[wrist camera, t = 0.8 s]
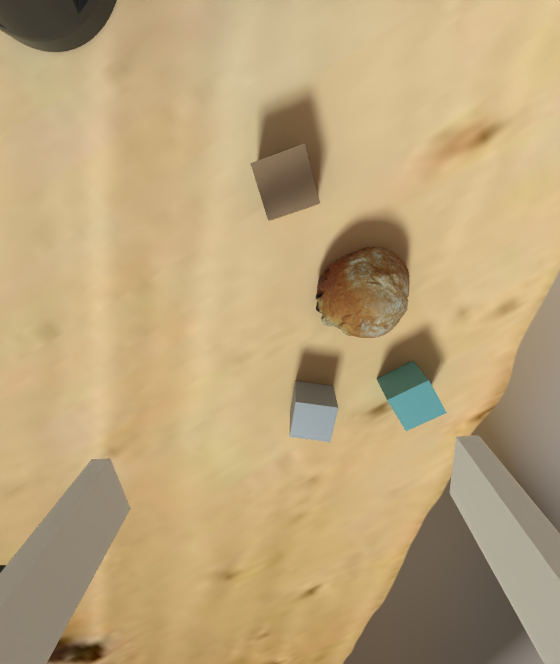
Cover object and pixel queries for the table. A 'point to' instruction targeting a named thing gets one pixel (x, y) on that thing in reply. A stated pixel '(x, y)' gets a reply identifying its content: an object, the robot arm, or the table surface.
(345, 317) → the bread roll
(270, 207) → the walnut block
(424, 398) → the dark teal block
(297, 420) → the slate grey block
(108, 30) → the table surface
